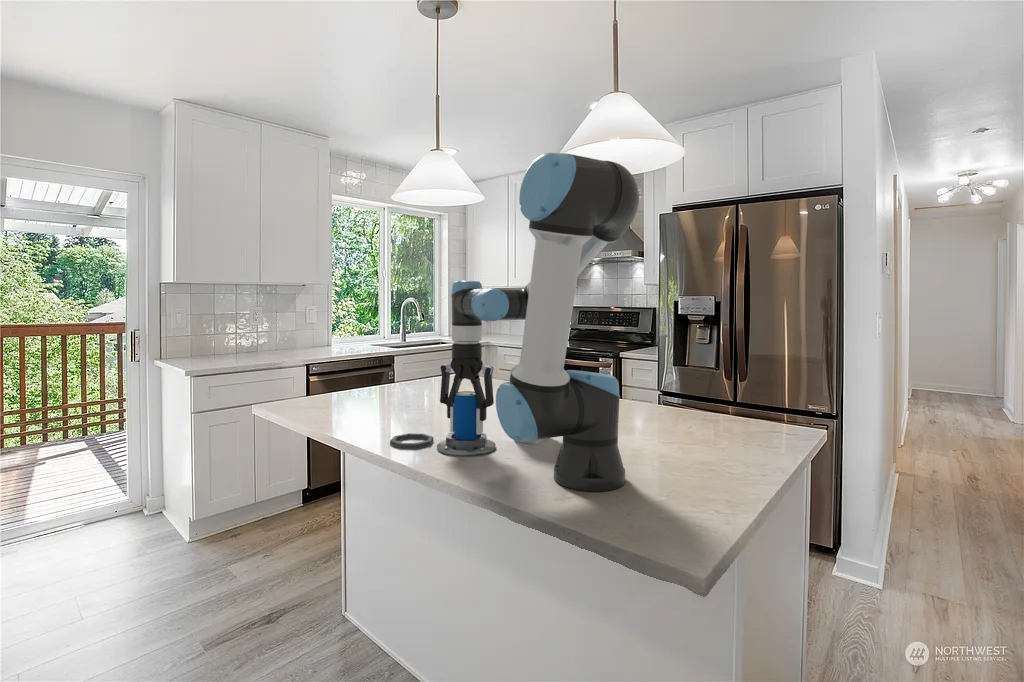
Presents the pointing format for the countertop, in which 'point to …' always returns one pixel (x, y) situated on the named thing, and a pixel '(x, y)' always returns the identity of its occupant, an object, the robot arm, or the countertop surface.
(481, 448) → the hub socket
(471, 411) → the beverage can
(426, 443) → the stand ring
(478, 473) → the countertop surface
